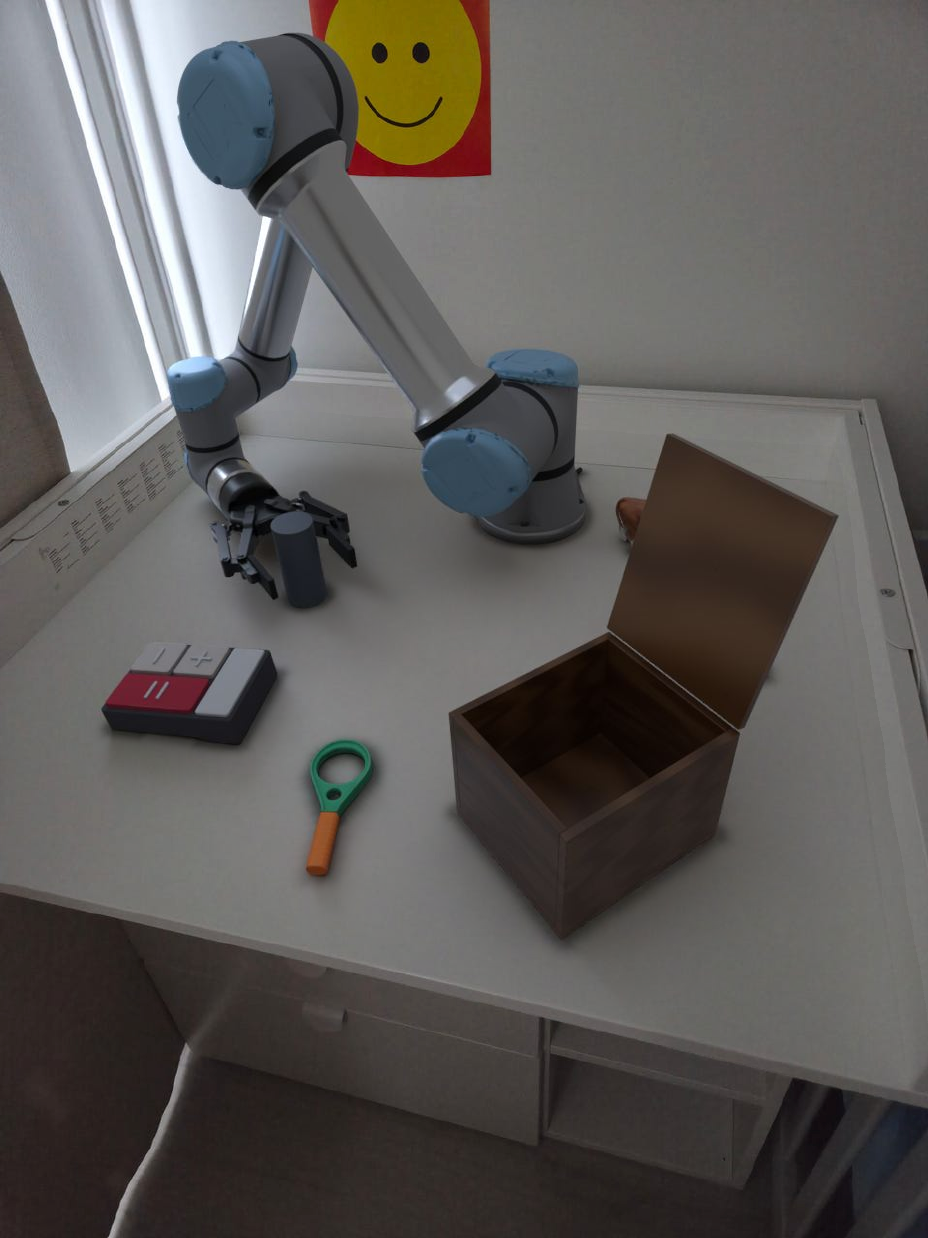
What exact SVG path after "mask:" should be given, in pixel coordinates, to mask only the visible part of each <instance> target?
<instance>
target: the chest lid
mask: <svg viewBox="0 0 928 1238" xmlns="http://www.w3.org/2000/svg"><path fill="white" fill-rule="evenodd" d="M645 500H646V502H645V506H644V509H643V512H642V515H641V519H640V522H639V525H638V528H637V531H636V535H635V538H634V541H633V544H632V547H631V548H630V551H629V554H628V557H627V561H626V564H625V568H624V570H623V573H622V577H621V580H620V584H619V586H618V590H617V593H616V596H615V599H614V603H613V606H612V608H611V609H612V610H611V612H610V616H609V619H608V622H607V625H606V629H607V630H608V631H609V632H610V633H612V634H613V635H614V636H616V637H617V638H618V639H620V640H621V641H622V642H623V643H625V644H626V645H627V646H629V647H630V648H631V649H632V650H634V651H635V652H636V653H638V654H639V655H640V656H641V657H643V658H644V659H645V660H647V661H648V662H649V663H650V664H652V665H653V666H654V667H656V668H657V669H658V670H659V671H661V672H662V673H663V674H665V675H666V676H667V677H668V678H670V679H671V680H672V681H674V682H675V683H676V684H677V685H679V686H680V687H681V688H683V689H684V690H685V691H687V692H688V693H689V694H690V695H692V696H693V697H694V698H696V699H697V700H698V701H699V702H701V703H702V704H703V705H705V706H706V707H707V708H708V709H710V710H711V711H712V712H714V713H715V714H716V715H717V716H719V717H720V718H721V719H723V720H724V721H725V722H726V723H728V724H729V725H730V726H732V727H733V728H734V729H736V730H737V731H739V730H742V729H745V728H746V726H747V722H748V721H749V719H750V716H751V714H752V712H753V710H754V707H755V705H756V703H757V701H758V699H759V696H760V694H761V692H762V689H763V687H764V685H765V682H766V680H767V679H768V676H769V674H770V672H771V669H772V668H773V665H774V662H775V660H776V658H777V655H778V654H779V652H780V648H781V646H782V645H783V642H784V640H785V638H786V637H787V636H786V635H787V633H788V631H789V629H790V627H791V624H792V622H793V620H794V618H795V615H796V613H797V611H798V609H799V606H800V604H801V602H802V599H803V597H804V595H805V592H806V591H807V588H808V586H809V584H810V582H811V579H812V578H813V575H814V572H815V571H816V568H817V566H818V564H819V561H820V559H821V557H822V554H823V552H824V550H825V548H826V546H827V544H828V541H829V538H830V537H831V534H832V532H833V530H834V528H835V526H836V524H837V521H838V519H839V516H840V515H839V514H838V513H835V512H833V511H831V510H828V509H827V508H825V507H823V506H821V505H818V504H817V503H815V502H813V501H811V500H808V499H806V498H805V497H802V496H800V495H798V494H797V493H795V492H792V491H791V490H788V489H787V488H785V487H782V486H780V485H778V484H776V483H775V482H773V481H770V480H768V479H766V478H764V477H762V476H760V475H758V474H756V473H754V472H752V471H750V470H749V469H746V468H744V467H742V466H740V465H738V464H736V463H735V462H732V461H730V460H728V459H726V458H723V457H722V456H720V455H718V454H716V453H714V452H712V451H710V450H708V449H706V448H704V447H701V446H700V445H698V444H696V443H693V442H692V441H689V440H688V439H685V438H684V437H682V436H679V435H678V434H676V433H674V432H673V433H666V434H665V438H664V442H663V445H662V448H661V451H660V453H659V457H658V461H657V464H656V467H655V470H654V474H653V476H652V480H651V484H650V487H649V490H648V493H647V497H646V499H645Z"/></svg>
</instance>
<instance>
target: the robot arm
mask: <svg viewBox="0 0 928 1238" xmlns="http://www.w3.org/2000/svg"><path fill="white" fill-rule="evenodd" d="M358 99H359V98H358V91H357V88H356V83H355V81H354V79H353V76H352V74H351V72H350V70H349V68H348V66H347V65H346V62H345V61H344V60H343V58H342V57H341V56H340V55H339V53H338V52H337V51H336V50H334V48H333V47H331V46H330V45H329V44H328V43H326V42H325V41H323V40H322V39H320V38H318V37H316V36H314V35H311V34H308V33H302V32H284V33H281V34H278V35H273V36H267V37H262V38H256V39H255V38H254V39H250V40H244V41H238V40H228V41H227V40H226V41H223V42H221V43H219V44H218V45H216V46H213V47H212V46H211V47H208V48H205V49H203V50H201V51H199V52H198V53H196V54H195V55H194V56H193V57H192V58H191V59H190V60H189V62H188V63H187V64H186V66H185V67H184V69H183V72H182V74H181V77H180V79H179V82H178V87H177V93H176V105H177V108H178V115H177V124H178V128H179V132H180V133H179V134H180V136H181V139H182V142H183V145H184V147H185V149H186V152H187V154H188V155H189V158H190V159H191V161H192V163H193V164H194V166H195V167H196V168H197V169H198V171H199V172H200V173H201V174H202V175H203V176H204V177H205V178H206V179H207V180H209V181H210V182H212V183H213V184H214V185H217V186H222V187H224V188H226V189H229V190H240V191H241V192H242V194H243V196H244V197H245V198H246V200H247V201H248V202H249V203H250V205H251V206H252V208H253V210H255V212H256V214H258V216H259V217H261V222H260V228H259V232H258V237H257V241H256V246H255V251H254V256H253V261H252V266H251V271H250V275H249V280H248V286H247V290H246V296H245V300H244V305H243V311H242V315H241V320H240V325H239V331H238V335H237V339H236V343H235V347H234V350H233V351H232V353H230V354H229V355H227V356H226V357H224V358H222V359H220V360H218V359H216V358H214V357H211V356H202V355H201V356H192V357H188V358H186V359H182V360H178V361H176V362H175V363H173V364H172V365H171V366H170V367H169V368H168V369H167V373H166V379H167V384H168V391H169V395H170V401H171V404H172V406H173V408H174V411H175V415H176V418H177V421H178V425H179V428H180V431H181V434H182V437H183V440H184V445H185V446H184V447H185V450H184V455H183V463H184V465H185V468H186V470H187V471H188V474H189V476H190V479H192V480H193V481H194V483H195V484H196V485H197V486H198V487H200V489H201V490H202V491H203V492H204V494H206V495H207V497H209V499H210V500H211V501H212V502H213V504H214V505H215V506H216V507H217V509H218V510H219V511H220V512H221V513H222V514H223V516H224V517H225V518H226V520H227V521H225V522H223V523H220V521H218V520H213V521H211V522H209V527H210V531H211V535H212V538H213V541H214V542H215V543H216V544H217V550H218V557H219V561H220V564H221V568H222V571H223V575H224V577H225V578H228V579H229V578H232V577H234V576H235V574H237V573H238V574H240V577H241V579H242V580H244V581H247V582H248V583H249V584H250V585H256V584H259V585H260V586H261V587H262V588H263V590H264V591H265V592H266V594H267V595H268V596H269V598H270V599H271V600H272V601H275V600H277V599H279V598H280V597H279V593H278V589H277V584H276V580H275V578H274V577H273V576H272V575H271V573H270V572H269V571H268V570H267V568H265V566H264V565H263V564H262V563H261V561H260V560H259V559H258V558H257V557H256V555H255V553H256V549H257V546H259V541H260V538H263V537H265V536H267V535H268V536H269V535H270V534H272V531H271V522H272V521H273V520H274V519H275V518H276V517H278V516H280V515H282V514H285V513H288V512H304V513H307V514H309V515H310V516H311V517H312V518H313V523H314V528H315V533H316V537H318V538H322V539H325V540H327V544H328V546H329V547H330V548H331V549H332V550H333V551H334V552H335V553H336V554H337V555H338V556H339V557H340V558H341V559H342V560H343V561H344V562H345V563H346V564H347V565H348V566H349V567H350V568H351V569H355V568H357V567H358V561H357V554H356V550H355V547H354V546H353V545H352V544H351V539H350V535H349V533H350V532H351V529H350V528H351V527H350V520H349V515H348V513H346V512H344V511H342V510H340V509H338V508H336V507H334V506H332V505H329V504H327V503H325V502H323V501H321V500H319V499H316V498H315V497H312V496H311V494H310V493H309V491H307V490H301V491H299V492H298V497H296V498H293V499H289V498H287V497H283V496H281V495H280V493H279V492H278V490H277V489H276V488H275V487H274V486H273V485H272V484H271V483H270V482H269V481H268V480H267V479H266V478H265V477H264V476H263V475H262V473H260V472H259V471H258V470H257V469H256V468H255V467H254V466H253V465H252V464H251V463H250V462H249V460H247V458H246V456H245V455H244V451H243V447H242V442H241V439H240V438H241V437H240V433H239V428H238V423H237V420H236V418H237V417H239V416H241V415H242V414H243V413H246V411H248V410H249V409H251V408H252V407H254V406H255V405H257V404H259V403H260V402H261V401H262V400H264V399H266V398H267V397H269V396H270V395H272V394H273V393H275V392H277V391H279V390H281V389H283V388H284V387H285V386H287V383H288V382H289V381H291V380H292V379H293V378H294V377H295V375H296V373H297V371H298V365H299V364H298V360H297V353H296V350H295V349H294V347H293V341H294V337H295V333H296V331H297V326H298V324H299V323H298V322H299V319H300V316H301V312H302V308H303V304H304V302H305V301H304V300H305V298H306V293H307V289H308V286H309V284H310V283H309V282H310V279H311V274H312V271H313V269H314V271H315V272H316V273H317V275H318V276H319V278H320V279H321V281H322V282H323V284H324V285H325V286H326V288H327V289H328V290H329V292H330V294H331V295H332V296H333V298H334V299H335V301H336V302H337V304H338V305H339V306H340V307H341V309H342V311H343V312H344V313H345V314H346V316H347V318H348V319H349V321H350V322H351V323H352V324H353V327H355V329H356V330H357V332H358V333H359V335H360V336H361V337H362V339H363V340H364V341H365V343H366V344H367V347H369V349H370V350H371V351H372V353H373V354H374V356H375V358H377V360H378V361H379V364H380V365H381V366H382V367H383V369H384V370H385V371H386V373H387V374H388V376H389V377H390V378H391V379H392V381H393V383H394V384H395V386H396V387H397V388H398V390H399V392H400V393H401V394H402V396H403V397H404V399H405V400H406V402H407V403H408V404H409V405H410V407H411V409H412V412H413V414H412V420H411V432H412V433H413V434H414V435H415V437H416V438H417V440H418V442H419V444H421V446H422V447H423V449H424V450H423V452H422V456H421V462H420V463H421V465H422V467H421V476H422V478H423V480H424V483H425V484H426V487H427V488H428V490H429V491H430V492H431V493H432V495H433V496H434V497H435V498H436V499H437V500H438V501H439V502H441V503H442V504H443V505H445V507H448V508H449V509H450V510H452V511H454V512H457V513H460V514H468V515H469V516H472V517H477V520H478V523H479V524H480V526H481V528H483V529H484V531H486V532H487V533H488V534H490V535H491V536H493V537H495V538H498V539H500V540H503V541H506V542H511V543H517V544H527V545H528V544H530V545H531V544H532V545H534V544H545V543H551V542H555V541H559V540H561V539H564V538H566V537H569V536H570V535H572V534H574V533H575V532H577V531H578V530H579V529H580V528H581V527H582V526H583V524H584V521H585V519H586V509H587V502H586V498H585V495H584V492H583V489H582V485H581V482H580V479H579V476H578V475H580V474H581V473H583V468H582V467H581V466H580V467H578V468H576V467H575V466H576V465H575V461H576V460H575V459H576V438H577V418H578V417H577V416H578V400H579V399H578V398H579V396H578V395H579V388H580V383H579V367H578V365H577V362H576V361H575V360H574V359H573V358H571V357H570V356H568V355H566V354H565V353H562V352H557V351H553V350H548V349H539V348H517V349H507V350H503V351H499V352H497V353H494V354H492V355H490V357H489V358H487V360H486V363H485V367H483V366H478V365H477V364H474V362H473V360H472V359H471V358H470V356H469V355H468V352H466V350H465V349H464V347H463V346H462V344H461V342H460V341H459V339H458V338H457V337H456V335H455V333H454V332H453V330H452V329H451V327H450V326H449V324H448V323H447V321H446V320H445V318H444V317H443V315H442V314H441V312H440V311H439V310H438V308H437V306H436V305H435V303H434V302H433V301H432V299H431V297H430V296H429V294H428V293H427V291H426V289H425V288H424V287H423V285H422V284H421V282H420V281H419V279H418V278H417V276H416V275H415V273H414V272H413V270H412V269H411V267H410V266H409V263H408V262H407V261H406V260H405V258H404V257H403V254H402V253H401V252H400V250H399V249H398V248H397V246H396V245H395V243H394V241H393V240H392V239H391V237H390V236H389V234H388V233H387V231H386V229H385V228H384V226H383V225H382V223H381V221H379V218H378V217H377V216H376V214H375V212H374V211H373V210H372V208H371V207H370V205H369V204H368V202H367V201H366V199H365V198H364V196H363V195H362V193H361V192H360V190H359V189H358V188H357V186H356V185H355V183H354V181H353V180H352V178H351V177H350V175H349V174H348V172H349V169H350V165H351V162H352V159H353V154H354V150H355V146H356V141H357V137H358V136H357V135H358V131H359V130H358V129H359V114H360V113H359V112H360V111H359V110H360V107H359V100H358ZM232 532H234V533H237V534H240V535H241V536H240V540H239V543H238V548H237V551H236V555H235V557H232V551H231V545H230V543H229V542H230V541H231V538H230V537H231V536H232Z"/></svg>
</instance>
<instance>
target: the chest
mask: <svg viewBox="0 0 928 1238" xmlns="http://www.w3.org/2000/svg"><path fill="white" fill-rule="evenodd" d="M448 722H449V723H448V725H449V734H450V747H451V760H452V771H453V779H454V780H453V782H454V792H455V794H454V795H455V806H456V813H457V814H458V816H459V817H460V818H461V819H462V820H463V821H464V822H465V823H466V825H467V826H468V828H469V829H470V831H472V833H474V834H475V836H476V837H477V838H478V840H479V841H480V842H481V843H482V845H483V846H484V847H485V848H486V850H488V852H489V853H490V854H491V856H492V857H493V858H494V859H495V861H496V862H497V863H498V864H499V866H500V867H501V868H502V870H504V871H505V873H506V875H508V876H509V878H510V879H511V880H512V881H513V882H514V884H515V885H516V886H517V888H518V889H519V890H520V891H521V892H522V893H523V895H524V896H525V897H526V898H527V900H528V901H529V902H530V903H531V905H532V906H533V907H534V908H535V909H536V911H537V912H538V913H539V914H540V916H541V918H543V919H544V920H545V922H546V923H547V924H548V926H549V927H550V928H551V930H553V932H554V933H555V935H557V936H558V938H559V939H560V940H563V939H565V938H566V937H568V936H569V935H570V934H572V933H573V932H575V931H576V930H578V929H579V928H581V927H582V926H584V925H586V924H587V923H588V922H589V921H591V920H592V919H595V917H597V916H598V915H600V914H601V913H603V912H604V911H606V910H607V909H608V908H610V907H612V906H613V905H614V904H616V903H618V902H619V901H620V900H622V899H623V898H624V897H627V896H628V895H629V894H631V893H632V892H633V891H635V890H636V889H638V888H639V887H641V886H642V885H644V884H645V883H646V882H649V880H651V879H652V878H654V877H655V876H657V875H658V874H660V873H661V872H662V871H665V870H666V869H668V867H670V866H672V865H673V864H674V863H676V862H677V861H679V860H680V859H681V858H683V857H685V856H686V855H687V854H689V853H690V852H692V851H693V850H695V849H696V848H698V847H700V846H701V845H703V843H705V842H706V841H708V840H709V839H711V838H713V837H714V836H716V833H717V829H718V826H719V822H720V817H721V813H722V810H723V809H722V808H723V805H724V801H725V797H726V794H727V789H728V786H729V781H730V777H731V773H732V769H733V765H734V760H735V757H736V751H737V749H738V745H739V744H738V743H739V740H740V737H741V733H740V731H739V730H738V729H736V728H735V727H733V725H731V724H730V723H729V722H727V721H726V720H725V719H724V718H722V717H721V716H720V715H718V714H717V713H716V712H714V711H713V710H712V709H711V708H709V707H708V706H707V705H705V704H704V703H703V702H702V701H700V700H699V699H698V698H696V697H695V696H694V695H693V694H691V693H690V692H689V691H687V690H686V689H685V688H684V687H682V686H681V685H680V684H678V683H677V682H676V681H674V680H673V679H672V678H671V677H669V676H668V675H667V674H665V673H664V672H663V671H662V670H660V669H659V668H658V667H656V666H655V665H654V664H653V663H651V662H650V661H649V660H647V659H646V658H645V657H643V656H642V655H641V654H640V653H638V652H637V651H636V650H634V649H633V648H632V647H631V646H629V645H628V644H627V643H625V642H624V641H623V640H622V639H620V638H619V637H618V636H616V635H615V634H614V633H612V632H611V631H607V632H605V633H603V634H600V635H599V636H597V637H596V638H593V639H591V640H590V641H589V640H588V642H585V643H584V644H582V645H580V646H578V647H575V648H573V649H572V650H570V651H567V652H566V653H564V654H562V655H560V656H557V657H555V658H554V659H552V660H550V661H548V662H546V663H544V664H542V665H540V666H538V667H536V668H534V669H532V670H530V671H528V672H526V673H524V674H522V675H520V676H518V677H516V678H514V679H512V680H510V681H508V682H506V683H504V684H502V685H500V686H499V687H496V688H493V690H491V691H489V692H486V693H484V694H483V695H481V696H478V697H477V698H475V699H472V700H471V701H469V702H467V703H464V704H462V705H461V706H458V707H457V708H455V709H453V710H450V711H449V712H448Z"/></svg>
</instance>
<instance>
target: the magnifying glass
mask: <svg viewBox="0 0 928 1238" xmlns="http://www.w3.org/2000/svg"><path fill="white" fill-rule="evenodd" d="M343 753H350V754H354V755H357V756H358V757H361V759H362V760H363V761H364V768H363V770H362V772H361V773H360V774H359V775H358V776H357V777H355V778H354V779H352V780H351V781H348V782H345V783H344V782H343V783H330V782H327V781H325V780H323V779H322V778H321V777H320V776H319V769H320V767H321V765H322V764H323V763H324V762H325V761H326V760H327V759H328V758H330V757H332V756H334V755H337V754H343ZM373 765H374V764H373V759H372V756H371V753H370V751H369V749H368V748H367V747H366V746H365V745H364V744H363V743H362V742H360V741H358V740H355V739H351V738H350V739H349V738H343V739H337V740H333V741H331V742H328V743H327V744H325V745H323V746H322V747H320V749H318V751H317V752H316V753H314V756H313V758H312V759H311V762H310V764H309V774H310V780H311V782H312V785H313V789H314V791H315V794H316V797H317V800H318V803H319V806H320V814H319V816H318V819H317V824H316V828H315V831H314V833H313V834H314V835H313V838H312V841H311V842H312V843H311V845H310V846H311V847H310V850H309V854H308V857H307V861H306V866H305V872H306V873H308V874H309V875H312V876H313V875H315V876H323V875H324V876H325V874H327V872H328V871H329V870H328V869H329V865H330V861H331V857H332V852H333V849H334V845H335V842H336V841H335V840H336V837H337V832H338V827H339V823H340V818H341V816H342V815H343V813H344V811H345V810H346V809H347V808H348V807H349V805H350V804H351V803H352V802H353V801H354V799H355V798H356V797H357V796H358V795H359V794H360V793H361V791H362V790H363V789H364V788H365V786H366V785H367V784H368V783H369V781H370V779H371V777H372V774H373V769H374V767H373ZM336 794H338V795H340V797H338V798H337V799H333V800H332V799H329V798H330V797H331V796H332V795H336Z"/></svg>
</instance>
